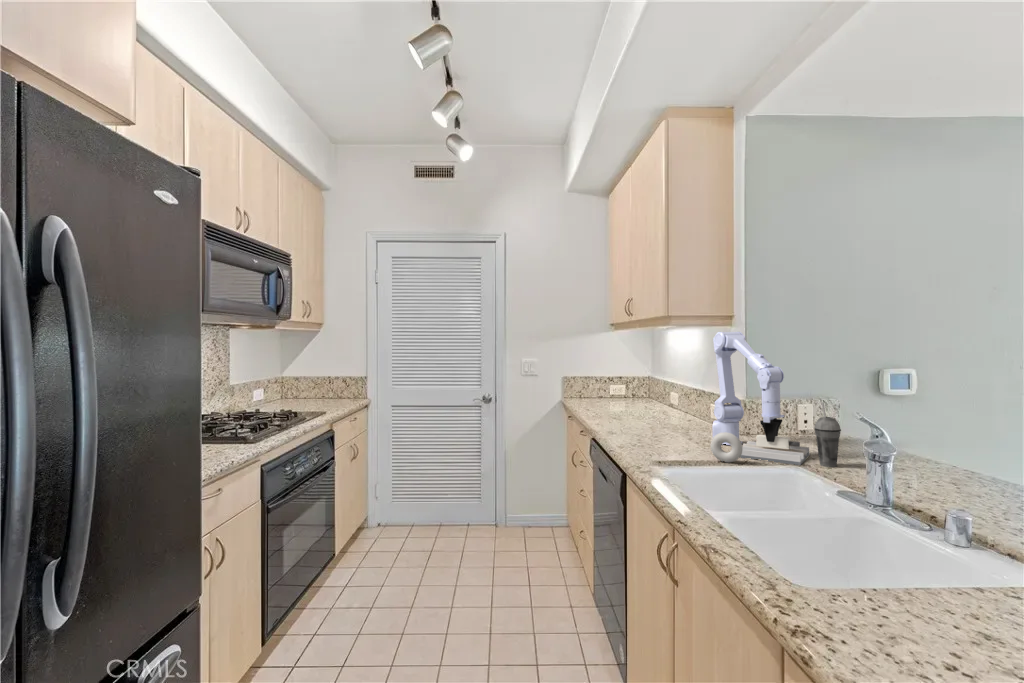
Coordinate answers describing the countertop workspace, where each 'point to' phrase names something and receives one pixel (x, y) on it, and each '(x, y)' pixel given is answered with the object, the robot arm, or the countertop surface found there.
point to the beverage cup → (827, 440)
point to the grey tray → (775, 453)
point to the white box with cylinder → (776, 442)
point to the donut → (730, 439)
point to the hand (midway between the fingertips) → (771, 440)
